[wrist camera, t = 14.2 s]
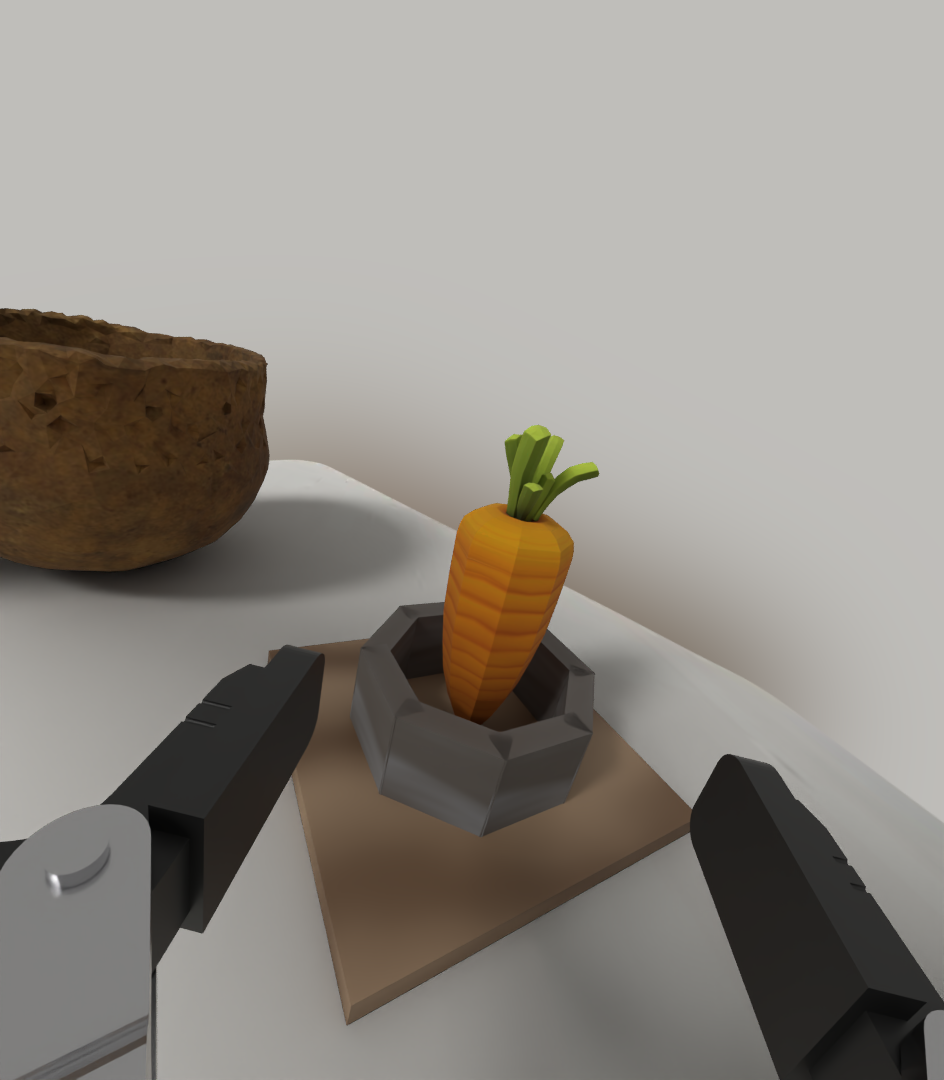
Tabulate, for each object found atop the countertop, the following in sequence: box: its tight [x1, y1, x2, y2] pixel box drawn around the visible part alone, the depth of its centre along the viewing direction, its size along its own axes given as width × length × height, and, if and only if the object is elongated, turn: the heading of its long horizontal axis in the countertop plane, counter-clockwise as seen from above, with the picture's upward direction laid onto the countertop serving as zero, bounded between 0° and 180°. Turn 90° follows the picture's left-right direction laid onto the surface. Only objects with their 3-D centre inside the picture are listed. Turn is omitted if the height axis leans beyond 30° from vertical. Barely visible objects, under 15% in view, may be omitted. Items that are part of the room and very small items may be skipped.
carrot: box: [443, 425, 599, 725], centre depth 20 cm, size 5×5×15 cm
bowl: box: [0, 308, 269, 572], centre depth 29 cm, size 19×19×15 cm
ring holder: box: [268, 602, 692, 1025], centre depth 22 cm, size 16×16×5 cm
